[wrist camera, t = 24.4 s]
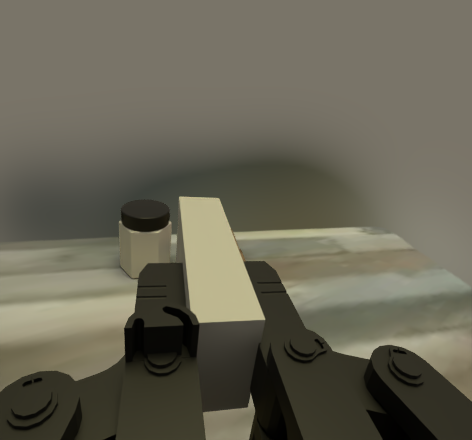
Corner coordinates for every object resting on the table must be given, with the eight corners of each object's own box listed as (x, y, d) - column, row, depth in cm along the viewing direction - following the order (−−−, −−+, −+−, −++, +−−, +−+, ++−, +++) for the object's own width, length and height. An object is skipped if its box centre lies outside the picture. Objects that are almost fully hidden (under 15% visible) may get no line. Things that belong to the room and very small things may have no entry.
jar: (177, 271, 62) (180, 213, 57) (137, 285, 56) (136, 223, 51) (153, 250, 67) (153, 195, 62) (114, 261, 62) (111, 203, 57)
